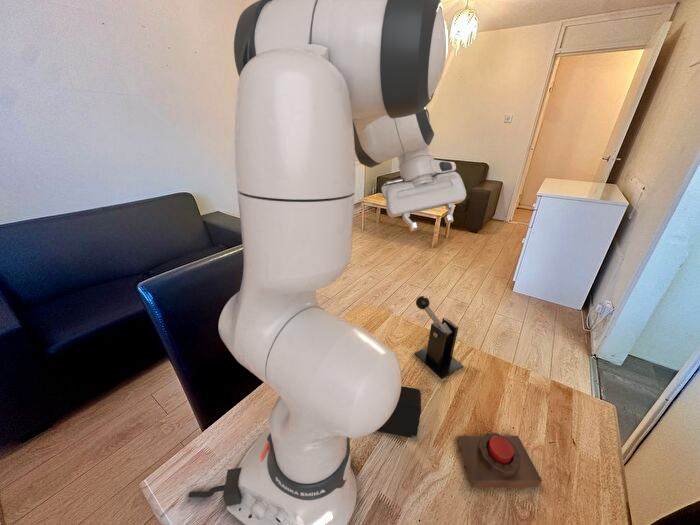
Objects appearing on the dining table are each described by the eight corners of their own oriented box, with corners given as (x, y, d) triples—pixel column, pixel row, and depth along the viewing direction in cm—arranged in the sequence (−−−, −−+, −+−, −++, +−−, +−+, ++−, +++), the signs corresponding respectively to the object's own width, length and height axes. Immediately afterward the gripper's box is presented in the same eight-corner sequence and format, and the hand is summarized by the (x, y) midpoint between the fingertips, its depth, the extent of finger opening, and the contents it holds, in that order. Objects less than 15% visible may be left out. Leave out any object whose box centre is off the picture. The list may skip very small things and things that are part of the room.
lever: (411, 303, 78) (416, 295, 75) (421, 299, 80) (426, 291, 77) (439, 341, 72) (445, 334, 69) (449, 336, 73) (455, 329, 71)
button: (493, 464, 51) (495, 458, 50) (483, 441, 54) (485, 435, 54) (515, 463, 51) (518, 458, 50) (504, 441, 55) (506, 435, 54)
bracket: (413, 356, 79) (419, 319, 73) (434, 345, 82) (441, 310, 77) (441, 382, 71) (449, 343, 65) (462, 369, 75) (472, 331, 69)
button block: (471, 487, 51) (476, 475, 49) (456, 442, 58) (459, 430, 56) (538, 487, 51) (545, 474, 49) (514, 442, 58) (520, 429, 56)
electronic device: (416, 439, 58) (421, 407, 54) (368, 429, 60) (369, 398, 56) (416, 420, 62) (421, 389, 58) (370, 412, 64) (372, 380, 59)
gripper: (381, 178, 69) (394, 232, 68) (461, 161, 70) (475, 214, 69) (377, 187, 75) (390, 237, 74) (451, 171, 76) (464, 220, 75)
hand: (432, 226), depth 72 cm, fingers open, 8 cm apart
